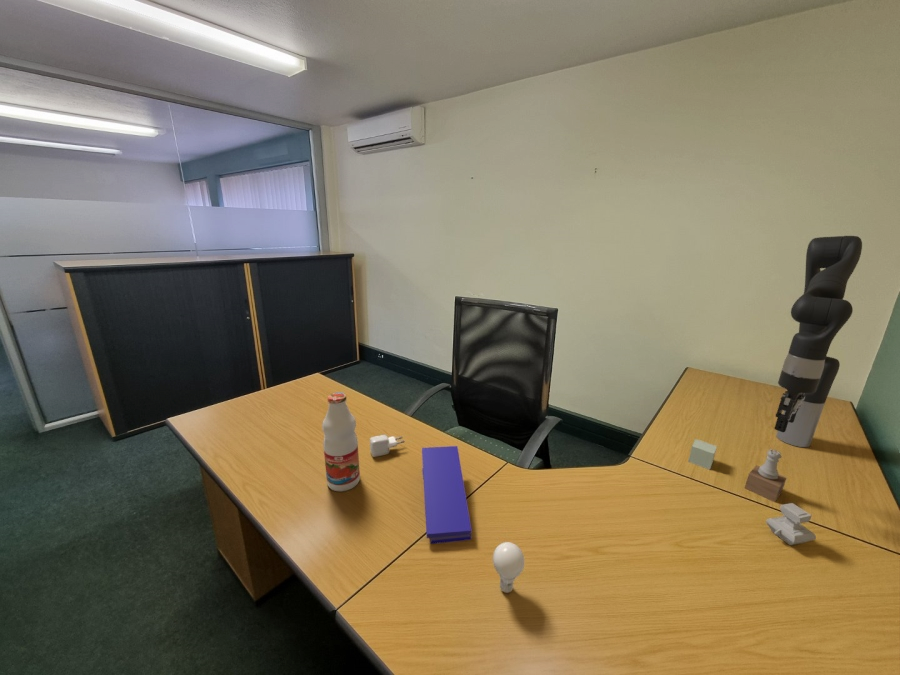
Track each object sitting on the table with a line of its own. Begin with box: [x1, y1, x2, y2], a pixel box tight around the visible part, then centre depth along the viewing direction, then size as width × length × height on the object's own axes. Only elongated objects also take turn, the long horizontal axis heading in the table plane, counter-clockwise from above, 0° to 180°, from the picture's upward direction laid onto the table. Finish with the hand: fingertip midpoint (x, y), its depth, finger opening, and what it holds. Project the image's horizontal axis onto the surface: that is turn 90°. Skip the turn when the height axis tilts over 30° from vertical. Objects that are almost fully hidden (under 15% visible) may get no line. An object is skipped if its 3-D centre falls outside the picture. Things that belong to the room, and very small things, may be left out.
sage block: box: [687, 438, 718, 471], centre depth 118 cm, size 6×6×6 cm
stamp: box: [765, 502, 817, 546], centre depth 88 cm, size 9×7×8 cm
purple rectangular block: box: [421, 445, 472, 545], centre depth 98 cm, size 12×28×10 cm, turn 8°
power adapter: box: [369, 434, 405, 458], centre depth 120 cm, size 11×5×6 cm, turn 113°
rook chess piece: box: [758, 448, 782, 480], centre depth 103 cm, size 4×4×8 cm
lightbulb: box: [492, 541, 525, 594], centre depth 74 cm, size 6×6×11 cm
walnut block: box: [744, 464, 787, 503], centre depth 105 cm, size 7×7×5 cm
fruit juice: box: [321, 392, 361, 492], centre depth 102 cm, size 9×9×28 cm
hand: (783, 425), depth 99 cm, fingers open, 8 cm apart
